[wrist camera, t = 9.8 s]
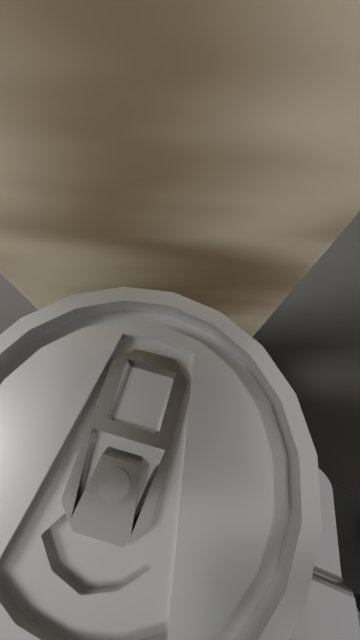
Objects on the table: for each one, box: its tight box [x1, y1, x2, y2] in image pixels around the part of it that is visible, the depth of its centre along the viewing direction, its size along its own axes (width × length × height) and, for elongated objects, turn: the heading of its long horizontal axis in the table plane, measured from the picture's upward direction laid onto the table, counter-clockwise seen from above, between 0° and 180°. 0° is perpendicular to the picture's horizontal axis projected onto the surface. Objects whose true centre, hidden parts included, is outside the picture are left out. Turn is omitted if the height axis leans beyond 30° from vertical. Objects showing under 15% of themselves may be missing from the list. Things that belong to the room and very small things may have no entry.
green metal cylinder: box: [0, 287, 322, 640], centre depth 9 cm, size 5×5×12 cm
